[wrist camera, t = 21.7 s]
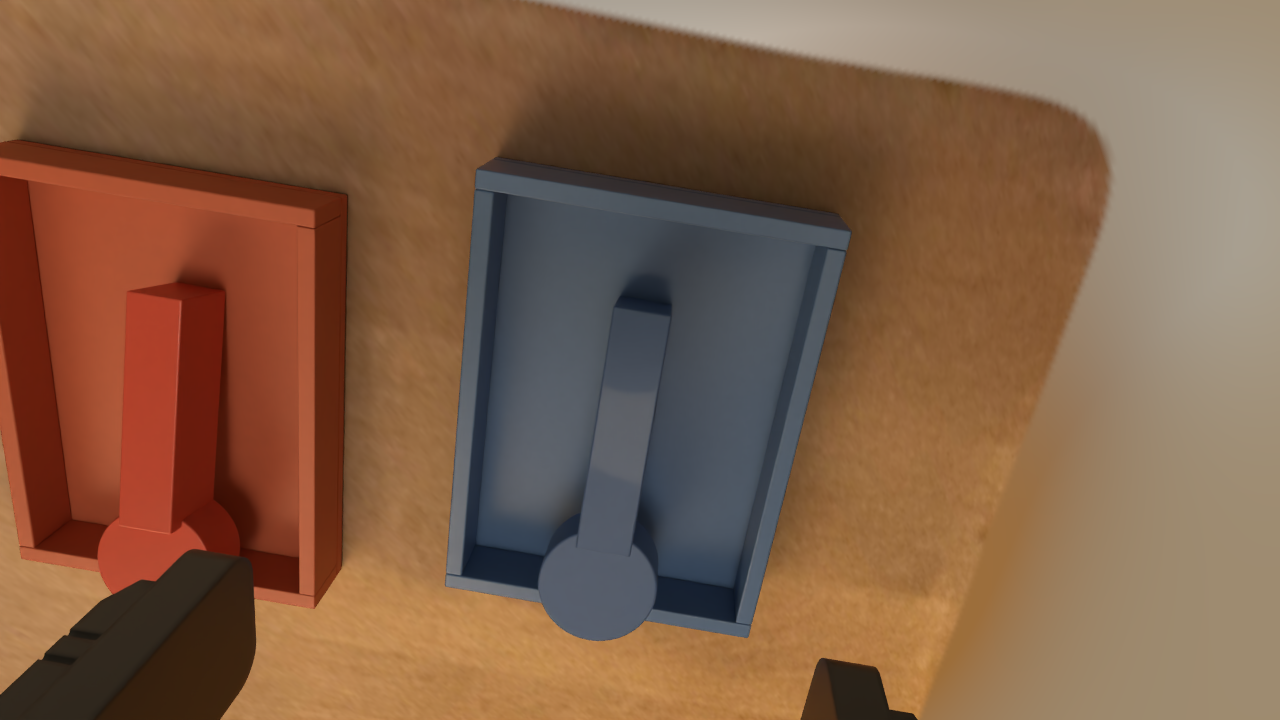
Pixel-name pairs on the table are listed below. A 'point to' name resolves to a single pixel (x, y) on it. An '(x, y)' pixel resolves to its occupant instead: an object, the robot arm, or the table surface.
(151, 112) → the table surface
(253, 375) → the red tray
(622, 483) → the blue spoon
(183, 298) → the red spoon
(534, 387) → the blue tray
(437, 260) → the table surface
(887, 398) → the table surface
